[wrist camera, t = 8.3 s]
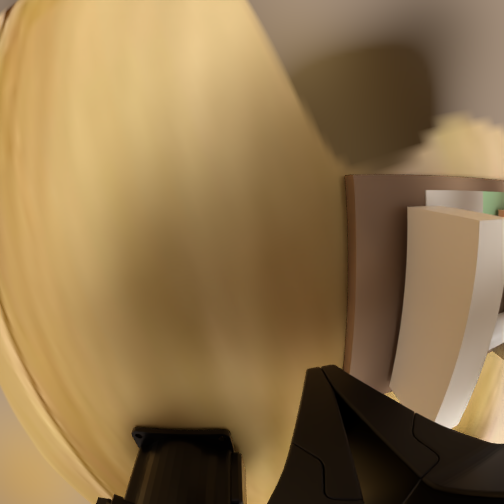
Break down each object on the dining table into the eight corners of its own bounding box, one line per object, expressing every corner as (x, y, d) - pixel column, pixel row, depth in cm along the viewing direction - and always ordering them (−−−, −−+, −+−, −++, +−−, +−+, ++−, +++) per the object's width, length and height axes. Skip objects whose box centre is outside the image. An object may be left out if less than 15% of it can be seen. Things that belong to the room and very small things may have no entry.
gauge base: (340, 392, 15) (346, 404, 14) (344, 175, 12) (354, 174, 11) (514, 330, 15) (522, 335, 14) (532, 184, 12) (542, 185, 11)
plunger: (389, 386, 13) (425, 440, 9) (407, 206, 11) (479, 220, 6) (491, 346, 13) (530, 377, 9) (513, 204, 11) (568, 215, 7)
